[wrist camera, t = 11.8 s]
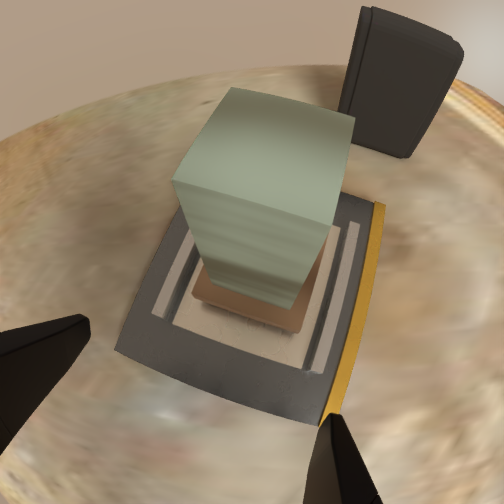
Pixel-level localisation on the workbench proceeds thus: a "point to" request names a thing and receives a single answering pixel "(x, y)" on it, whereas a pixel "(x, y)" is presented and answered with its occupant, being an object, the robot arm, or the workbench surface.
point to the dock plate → (260, 324)
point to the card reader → (396, 80)
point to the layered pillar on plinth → (263, 202)
